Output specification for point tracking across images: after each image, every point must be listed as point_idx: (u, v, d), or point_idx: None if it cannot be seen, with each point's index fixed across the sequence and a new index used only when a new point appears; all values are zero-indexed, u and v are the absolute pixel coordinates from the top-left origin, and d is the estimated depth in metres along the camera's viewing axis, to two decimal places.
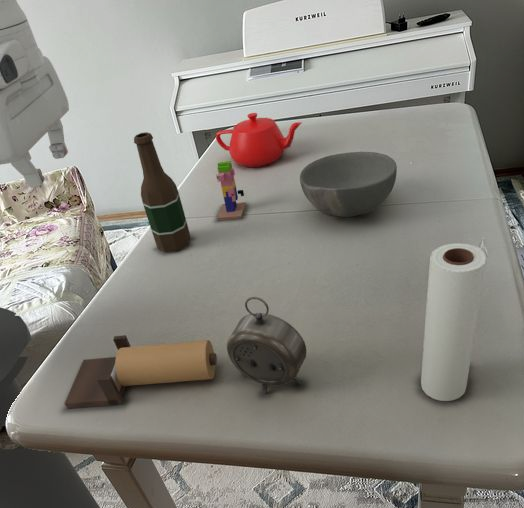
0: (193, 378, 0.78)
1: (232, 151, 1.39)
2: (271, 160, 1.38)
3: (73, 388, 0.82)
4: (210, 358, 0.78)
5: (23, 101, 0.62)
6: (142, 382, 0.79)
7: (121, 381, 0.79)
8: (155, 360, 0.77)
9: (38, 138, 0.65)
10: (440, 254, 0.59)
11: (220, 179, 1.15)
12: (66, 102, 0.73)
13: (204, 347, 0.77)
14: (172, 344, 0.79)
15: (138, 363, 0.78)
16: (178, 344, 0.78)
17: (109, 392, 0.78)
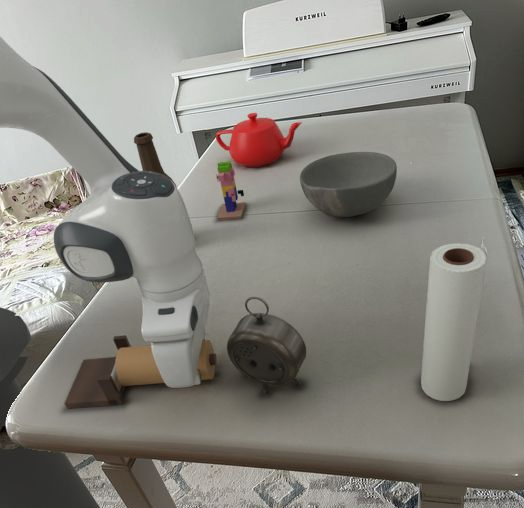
0: None
1: (232, 151, 1.39)
2: (271, 160, 1.38)
3: (73, 388, 0.82)
4: (210, 358, 0.78)
5: None
6: (142, 382, 0.79)
7: (121, 381, 0.79)
8: None
9: None
10: (440, 254, 0.59)
11: (220, 179, 1.15)
12: (208, 299, 0.82)
13: (204, 347, 0.77)
14: None
15: (138, 363, 0.78)
16: None
17: (109, 392, 0.78)
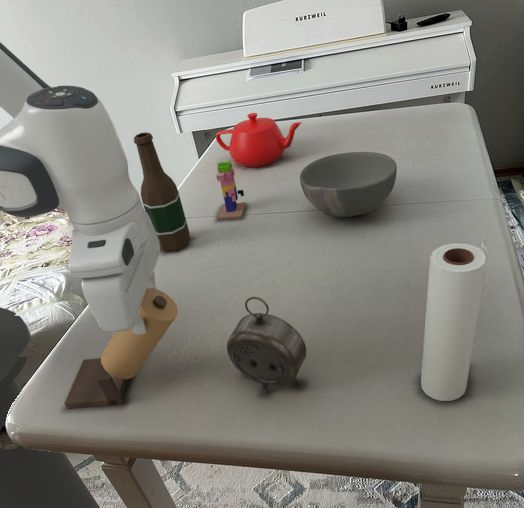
0: (153, 331, 0.72)
1: (232, 151, 1.39)
2: (271, 160, 1.38)
3: (73, 388, 0.82)
4: (154, 303, 0.72)
5: (132, 266, 0.66)
6: (130, 365, 0.77)
7: (117, 376, 0.78)
8: (118, 339, 0.75)
9: (143, 297, 0.68)
10: (440, 254, 0.59)
11: (220, 179, 1.15)
12: (158, 245, 0.76)
13: None
14: None
15: (112, 352, 0.76)
16: None
17: (109, 392, 0.78)
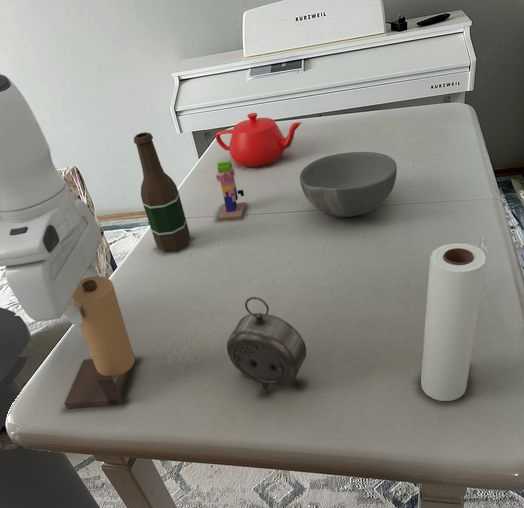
0: (97, 315, 0.71)
1: (232, 151, 1.39)
2: (271, 160, 1.38)
3: (73, 388, 0.82)
4: (83, 289, 0.71)
5: (63, 255, 0.65)
6: (111, 358, 0.76)
7: (111, 374, 0.78)
8: (85, 339, 0.75)
9: (77, 286, 0.67)
10: (440, 254, 0.59)
11: (220, 179, 1.15)
12: (99, 235, 0.76)
13: None
14: None
15: (91, 354, 0.77)
16: None
17: (109, 392, 0.78)
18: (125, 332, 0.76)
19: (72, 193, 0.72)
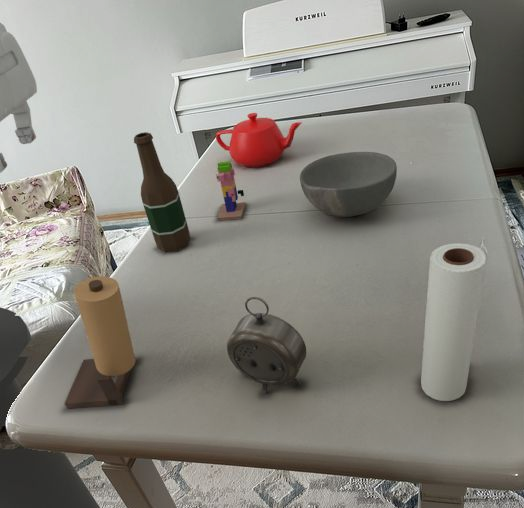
0: (102, 315, 0.71)
1: (232, 151, 1.39)
2: (271, 160, 1.38)
3: (73, 388, 0.82)
4: (89, 289, 0.71)
5: None
6: (113, 358, 0.76)
7: (112, 374, 0.78)
8: (88, 339, 0.75)
9: None
10: (440, 254, 0.59)
11: (220, 179, 1.15)
12: (33, 83, 0.68)
13: None
14: None
15: (93, 353, 0.77)
16: None
17: (109, 392, 0.78)
18: (128, 333, 0.76)
19: (0, 26, 0.64)
